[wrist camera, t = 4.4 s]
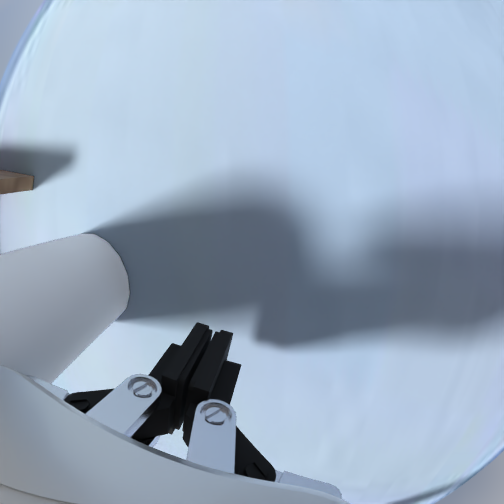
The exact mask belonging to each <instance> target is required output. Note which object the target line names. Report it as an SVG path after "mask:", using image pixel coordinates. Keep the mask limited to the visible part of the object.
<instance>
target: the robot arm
mask: <svg viewBox="0 0 504 504" xmlns="http://www.w3.org/2000/svg"><path fill="white" fill-rule="evenodd" d="M232 336H233V333H231V332H228V331H224V330H221V331H220V332H215V334H214V336H213V338H212V340H211V337H212V330H210V329H209V326H207V325H204V324H201V323H198V322H197V323H196V325H195V326H194V328H193V329H192V331H191V332H190V334H189V335H188V337H187V338H186V340H185V341H184V343H183V344H182V346H180V345H177V344H174V343H172V344H171V345H170V346H169V348H168V349H167V350H166V352H165V353H164V355H163V356H162V357H161V359H160V360H159V361H158V363H157V364H156V366H155V367H154V368H153V370H152V371H151V372H150V374H149V375H144V374H135V375H132V376H130V377H128V378H127V379H126V380H124V381H123V382H122V383H121V384H120V385H119V386H117V387H116V388H115V389H107V390H98V391H88V392H77V393H72V394H69V393H68V391H67V390H65V389H62V388H60V387H57V386H55V385H52V384H50V383H48V382H45V381H43V380H41V379H39V378H37V377H34V376H31V375H24V374H22V373H20V372H18V371H16V370H14V369H12V368H9V367H7V366H4V365H0V504H350V503H349V502H347V501H345V500H343V499H342V494H341V492H340V490H339V489H338V488H337V487H336V486H334V485H331V484H329V483H324V482H321V481H317V480H313V479H309V478H306V477H303V476H299V475H296V474H293V473H290V472H287V471H284V472H283V473H282V472H280V471H277V470H275V469H274V468H273V466H272V465H271V464H270V463H269V462H268V461H267V460H266V459H265V457H264V456H263V455H262V454H261V453H260V452H259V451H258V450H257V449H256V448H255V447H254V446H253V445H252V443H251V442H250V441H249V440H248V439H247V438H246V437H245V436H244V434H243V433H242V432H241V431H240V430H239V429H238V428H237V426H236V412H235V411H234V409H233V408H232V407H231V406H230V402H231V399H232V395H233V392H234V388H235V385H236V382H237V378H238V375H239V371H240V368H241V364H237V363H234V362H230V361H227V356H228V352H229V348H230V344H231V340H232ZM183 421H184V422H183ZM182 423H183V432H184V433H183V440H184V442H185V443H186V445H187V446H188V453H187V459H186V460H184V459H181V458H178V457H176V456H173V455H170V454H167V453H165V452H162V451H160V450H157V449H155V448H153V447H154V445H155V444H156V443H157V442H158V440H159V438H160V435H164V434H168V433H169V434H172V433H173V431H174V429H178V430H179V429H180V427H181V425H182Z"/></svg>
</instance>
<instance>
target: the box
mask: <svg viewBox="0 0 504 504" xmlns="http://www.w3.org/2000/svg"><path fill="white" fill-rule="evenodd" d="M33 180H34V176H31V175H26V174H21V173H15V172H10V171H5V170H0V194H6V193H13V192H21V191H29V190H32V189H33Z"/></svg>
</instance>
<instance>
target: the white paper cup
mask: <svg viewBox="0 0 504 504" xmlns="http://www.w3.org/2000/svg"><path fill="white" fill-rule="evenodd" d="M129 295H130V290H129V282H128V274H127V272H126V270H125V267H124V265H123V263H122V260H121V258H120V256H119V255H118V254H117V252H116V251H115V250H114V249H113V248H112V246H111V245H110V244H109V243H108V242H107V241H106V240H104V239H102V238H100V237H99V236H97V235H95V234H78V235H73V236H69V237H65V238H61V239H57V240H53V241H48V242H45V243H41V244H37V245H33V246H29V247H25V248H22V249H18V250H14V251H11V252H7V253H4V254H0V365H4V366H7V367H9V368H12V369H14V370H16V371H18V372H20V373H22V374H24V375H31V376H34V377H37V378H39V379H41V380H43V381H45V382H48V383H50V384H52V382H53V381H54V380H55V379H56V378H57V377H58V376H59V375H60V374H61V373H62V372H63V371H64V370H65V369H66V368H67V367H68V366H69V365H70V364H71V363H72V362H73V361H74V360H75V359H76V358H77V357H78V356H79V355H80V354H81V353H82V352H83V351H84V350H85V349H86V348H87V347H88V346H89V345H90V344H91V343H92V342H93V341H94V340H95V339H96V338H97V337H98V336H100V335H101V334H102V333H103V332H104V331H105V330H106V329H107V328H108V327H109V326H110V325H111V324H112V323H113V322H114V321H115V320H116V319H117V318H118V317H119V316H120V315H121V314H122V313H123V312H124V311H125V309H126V308H127V303H128V299H129Z"/></svg>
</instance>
